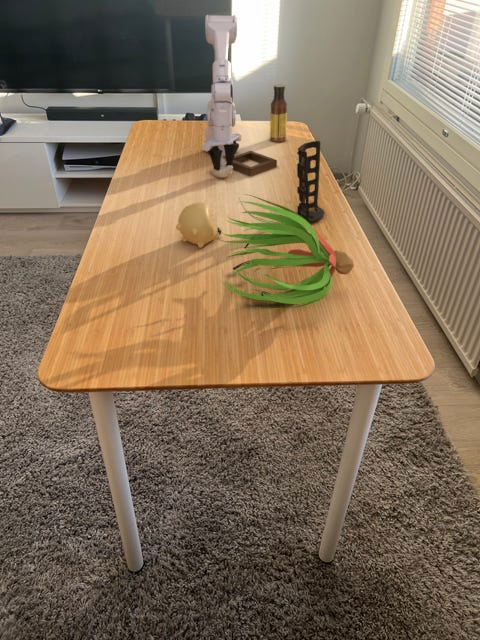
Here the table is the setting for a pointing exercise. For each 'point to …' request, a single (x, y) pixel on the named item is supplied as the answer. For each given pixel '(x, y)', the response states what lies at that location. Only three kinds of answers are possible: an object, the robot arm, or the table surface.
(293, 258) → the decorative plant
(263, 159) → the brown wooden square frame
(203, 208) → the toy pig
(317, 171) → the holder
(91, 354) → the table surface
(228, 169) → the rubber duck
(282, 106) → the sauce bottle
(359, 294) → the table surface
